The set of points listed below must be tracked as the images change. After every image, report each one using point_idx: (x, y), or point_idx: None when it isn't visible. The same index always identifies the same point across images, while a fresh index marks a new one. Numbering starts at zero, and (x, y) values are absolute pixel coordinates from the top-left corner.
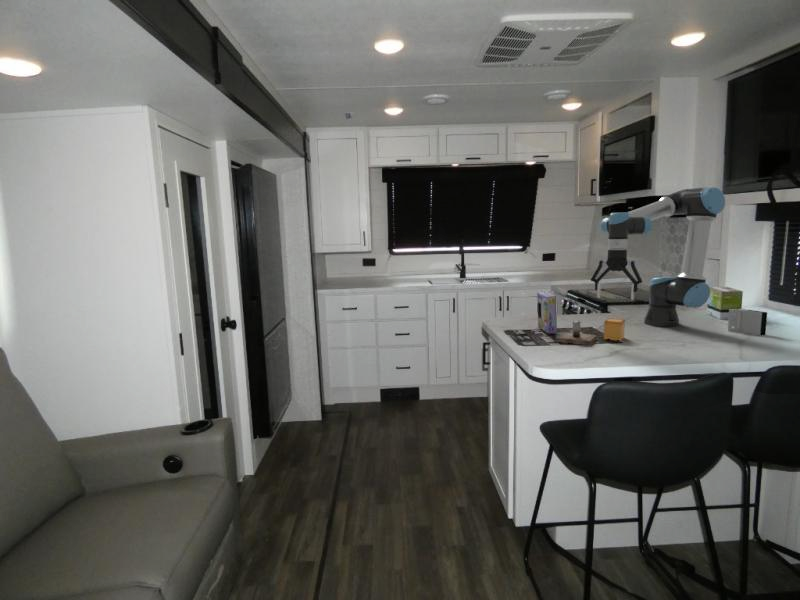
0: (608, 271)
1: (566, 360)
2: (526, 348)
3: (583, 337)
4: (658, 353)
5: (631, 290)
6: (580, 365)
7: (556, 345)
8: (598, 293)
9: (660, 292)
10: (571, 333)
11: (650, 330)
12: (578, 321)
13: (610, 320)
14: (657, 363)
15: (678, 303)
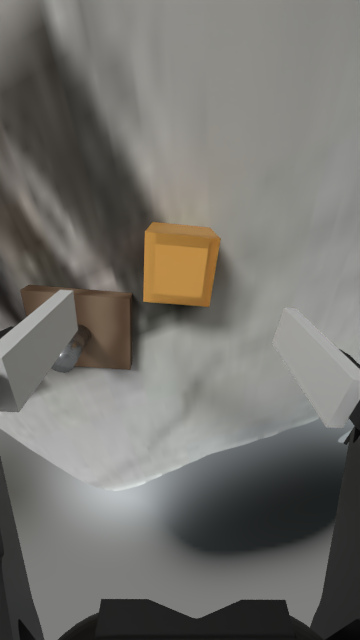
0: (23, 591)
1: (121, 456)
2: (19, 420)
3: (103, 339)
4: (283, 371)
5: (300, 386)
6: (149, 468)
7: (61, 381)
8: (61, 347)
9: None
10: None
11: None
12: (64, 358)
13: (163, 279)
14: (267, 428)
15: None
